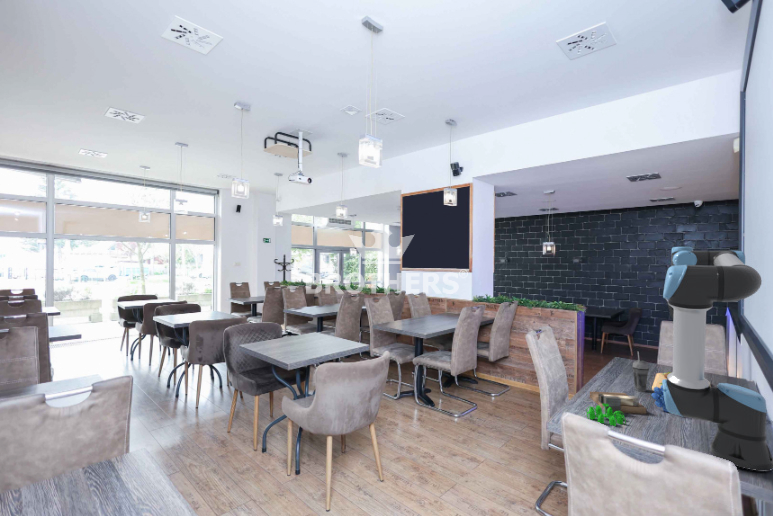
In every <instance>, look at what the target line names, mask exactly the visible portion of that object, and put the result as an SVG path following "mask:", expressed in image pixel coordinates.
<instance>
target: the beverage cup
mask: <svg viewBox="0 0 773 516" xmlns="http://www.w3.org/2000/svg"><path fill="white" fill-rule="evenodd" d="M631 367H632V371H633V382H634V390H635V391H637V392H640V393H641V392H643V393H644V392H647V391H646V390H647V385H648V384H647V382H648V376H649V375H648V374H649V370H650V367H649V365H648V363H647V362H646V361H645V360H643V359H640V353H639V351H637V360H634V362H633V363H632V366H631Z"/></svg>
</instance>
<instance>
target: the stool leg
mask: <svg viewBox="0 0 773 516" xmlns="http://www.w3.org/2000/svg"><path fill="white" fill-rule="evenodd" d="M604 396H616V397H619V398H621V405H631V406H639V403H640V398H639V397H638V396H636V395H628V396H617V395H603V394H598V401H599V402H600V403H602V404H603V403H604Z"/></svg>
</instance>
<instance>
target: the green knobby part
mask: <svg viewBox="0 0 773 516" xmlns="http://www.w3.org/2000/svg"><path fill="white" fill-rule="evenodd" d="M602 405H603V406H605V412H604V413H603V410H602V409H603V408H601V407H600V406H599V405H598V404H597V405H596V406H595V407H594V406H588V407H587V408H586V410H585V411H586V417H587V419H588V420H591V421H592V420H593V419H595V418H597V423H598V422H600V423H603V424H605V418H606V419H608V420H609V421H608V422H609V425H610V426H612V425H613V426H612V427H614V426H615V427H616V426H617V424H619V425H626V423H627V420H626V418H625V413H622V412H621V411H616V412H614V414H613V411H612V408H611V407H609V408H608V409H607V413H606V407H608V406H609V405H608V404H605V403H603V404H602ZM620 412H621V413H620ZM615 413H616V414H615ZM588 414H590V415H588ZM595 420H596V419H595ZM593 421H594V420H593ZM603 424H602V425H603Z"/></svg>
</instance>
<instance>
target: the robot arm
mask: <svg viewBox="0 0 773 516" xmlns="http://www.w3.org/2000/svg"><path fill="white" fill-rule="evenodd" d="M670 256H671V259H670V260H671V261H670V262H671V263H670V265H671V266H670V267H668V268H667V271H666V275H665V280H664V286H663V294H662V297H663V299H665V302H666V303H667V307H668V310H669V314H670V318H671V319H673V323H672V325H673V328H672V331H673V334H672V372H671V373H670V374H668V375H667V379H663V380H662V385H663V392H664V400H665V406H666V409H667V411H668V412H667V413H669V414H672V415H675V416H680V417H681V418H684V417H685V418H689V419H694V420H700V421H704V422H708V423H715V424H717V429H716V432H715V433H714V436H713V439H712V441H711V443H710V453H711V454H712V455H713V457H715V456H717V457H720V458H723V459H726V460H729V461H731V462H733V463H734V464H735V465H736V466H735V467H737V465H738V466H740V467H745V468H750V469H756V470H770V469H772V468H773V456H772V454H771V451H770V448H769V445H768V443H767V413H768V410H767V400H766V398H765V397H764V396H763V395H761V394H760V393H759V392H757V391H755V390H752V389H750V388H747V387H743V386H740V385H738V384H731V383H725V382H719V383H718V384H717V385H716V387H715V386H711V382H710V381H709V380H708V379H707V378H706V377H705V367H706V366H705V363H706V362H705V361H706V334H707V333H706V332H707V330H706V327H707V311H709V310H711V309H712V308H713V305H714V304H713V303H714V302H715V303H716V302H719V303H720V302H722V303H730V302H732V303H733V302H737V301H741V300H745V299H747V298H749V297H752V296H753V295H754V294H756V292H758V291H759V289H760V288H761V285H762V281H763V280H762V276H761V274H760V273H759V272H758V271H757V269H755V268H753V267H752V266H749V265H746V254H745V252H744V251H742V250H732V249H731V250H694V248H693V247H692V246H672V248H671V254H670ZM717 457H716V458H717ZM740 467H739V468H740Z"/></svg>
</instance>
